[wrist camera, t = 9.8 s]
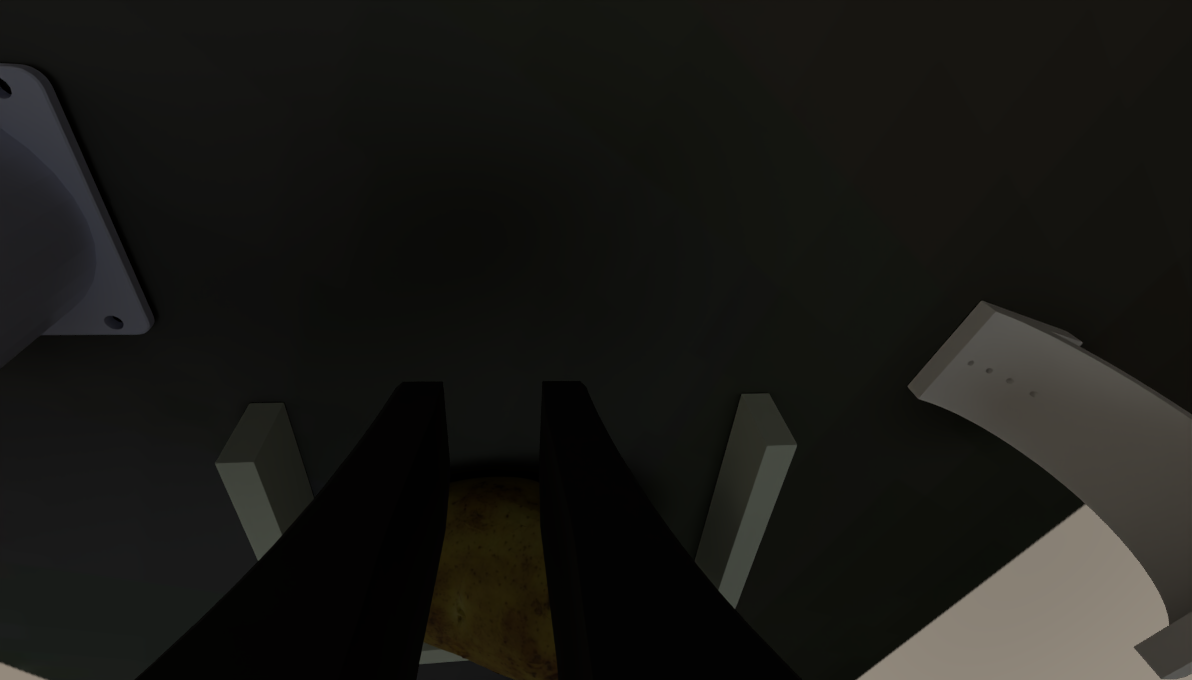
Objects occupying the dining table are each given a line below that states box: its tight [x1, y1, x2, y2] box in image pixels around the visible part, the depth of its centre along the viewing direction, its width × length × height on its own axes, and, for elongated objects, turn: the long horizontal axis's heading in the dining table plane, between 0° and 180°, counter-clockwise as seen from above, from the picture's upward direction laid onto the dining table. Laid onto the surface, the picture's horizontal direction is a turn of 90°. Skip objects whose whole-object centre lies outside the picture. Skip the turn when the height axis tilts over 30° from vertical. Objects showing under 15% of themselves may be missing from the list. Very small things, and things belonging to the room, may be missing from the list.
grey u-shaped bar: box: [215, 393, 797, 664], centre depth 25 cm, size 20×14×3 cm
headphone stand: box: [907, 300, 1192, 679], centre depth 20 cm, size 5×6×12 cm
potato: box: [424, 477, 558, 680], centre depth 23 cm, size 8×13×8 cm, turn 69°
